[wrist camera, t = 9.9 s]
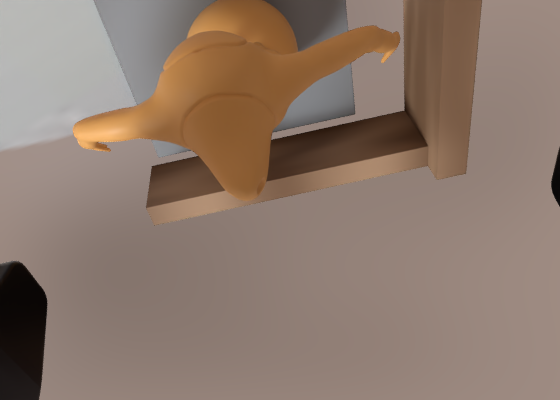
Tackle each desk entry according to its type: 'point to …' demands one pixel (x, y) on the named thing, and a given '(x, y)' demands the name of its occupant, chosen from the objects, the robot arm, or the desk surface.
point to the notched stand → (315, 101)
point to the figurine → (232, 89)
